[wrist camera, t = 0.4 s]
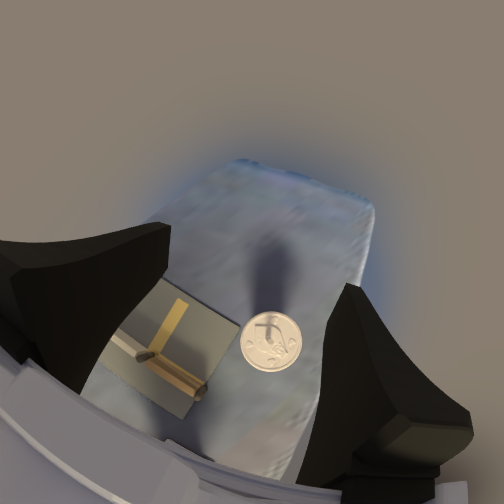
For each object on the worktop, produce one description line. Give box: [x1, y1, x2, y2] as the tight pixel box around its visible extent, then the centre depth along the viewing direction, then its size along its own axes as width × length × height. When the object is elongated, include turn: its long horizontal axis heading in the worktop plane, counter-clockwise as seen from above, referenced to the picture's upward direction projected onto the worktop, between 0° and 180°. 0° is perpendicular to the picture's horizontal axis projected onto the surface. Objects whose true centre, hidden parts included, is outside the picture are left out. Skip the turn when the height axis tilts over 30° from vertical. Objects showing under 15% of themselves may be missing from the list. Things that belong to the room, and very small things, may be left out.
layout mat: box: [98, 278, 240, 420], centre depth 37 cm, size 16×16×1 cm
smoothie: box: [240, 311, 302, 372], centre depth 31 cm, size 6×6×14 cm
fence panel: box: [111, 327, 148, 358], centre depth 35 cm, size 8×1×4 cm, turn 59°
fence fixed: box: [136, 352, 207, 401], centre depth 34 cm, size 1×10×5 cm, turn 59°
